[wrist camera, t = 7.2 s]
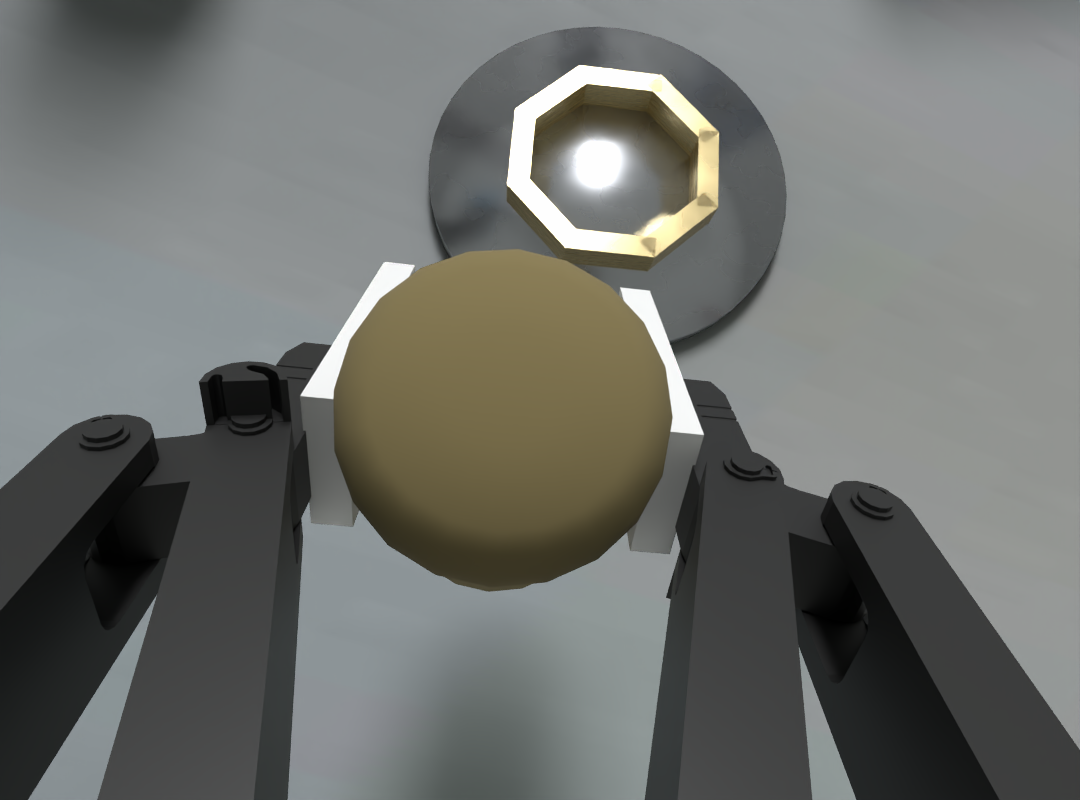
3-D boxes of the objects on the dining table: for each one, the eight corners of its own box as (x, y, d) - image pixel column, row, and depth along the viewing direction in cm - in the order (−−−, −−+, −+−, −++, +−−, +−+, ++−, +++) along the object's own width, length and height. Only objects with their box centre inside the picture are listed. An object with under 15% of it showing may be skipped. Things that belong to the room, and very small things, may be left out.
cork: (349, 496, 19) (167, 410, 8) (486, 346, 20) (484, 107, 10) (509, 637, 18) (536, 739, 8) (639, 472, 20) (817, 365, 9)
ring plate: (407, 332, 31) (401, 313, 29) (452, 20, 35) (449, -17, 33) (782, 369, 32) (803, 354, 29) (777, 59, 36) (796, 26, 34)
